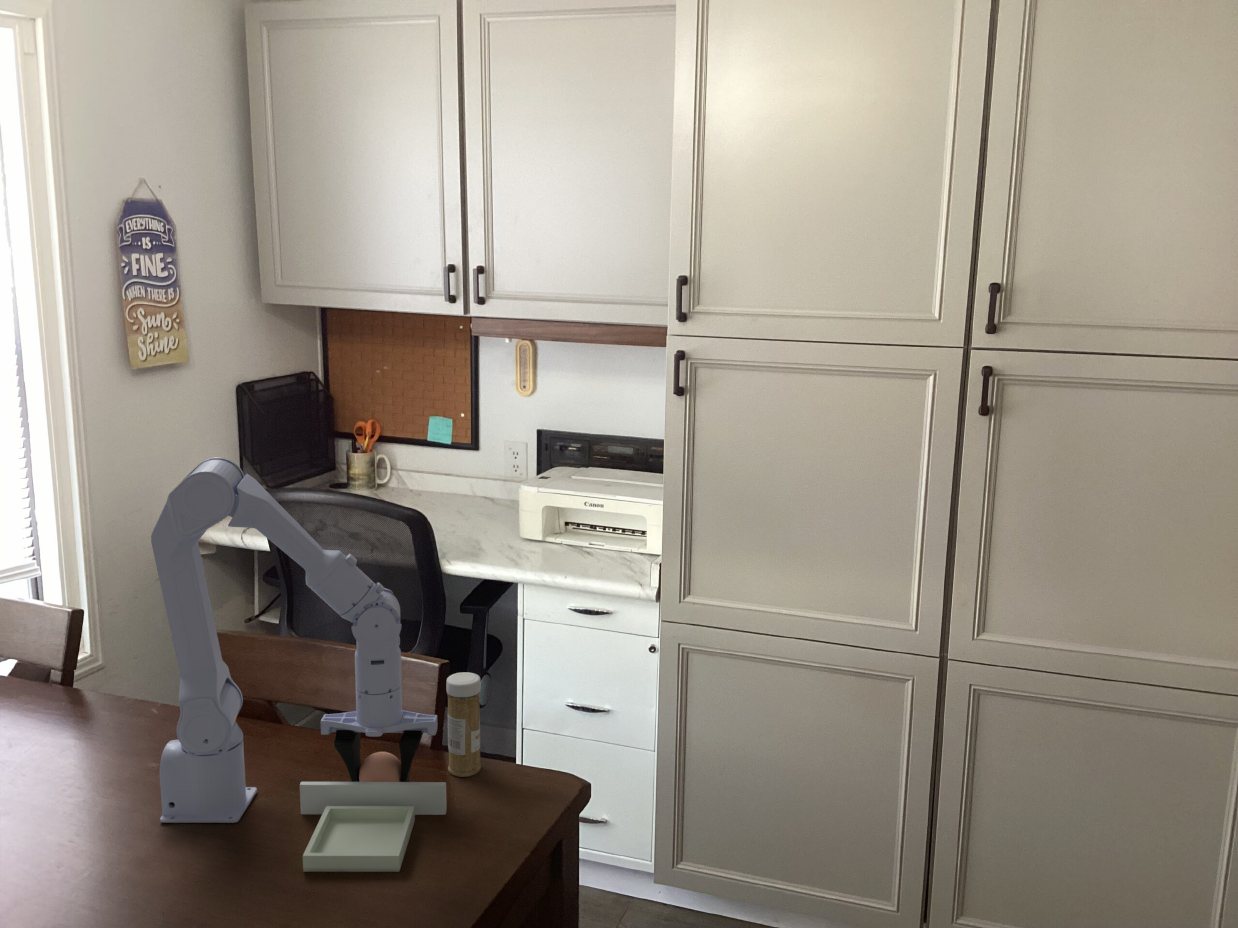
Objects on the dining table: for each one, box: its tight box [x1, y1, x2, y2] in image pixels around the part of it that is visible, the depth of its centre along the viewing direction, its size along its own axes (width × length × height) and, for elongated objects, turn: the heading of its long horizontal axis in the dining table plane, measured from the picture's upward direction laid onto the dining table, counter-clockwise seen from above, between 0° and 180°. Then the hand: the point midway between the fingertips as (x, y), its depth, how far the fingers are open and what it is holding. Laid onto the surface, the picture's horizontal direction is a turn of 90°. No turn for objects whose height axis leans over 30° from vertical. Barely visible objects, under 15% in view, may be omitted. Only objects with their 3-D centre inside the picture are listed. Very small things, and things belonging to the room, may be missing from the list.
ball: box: [359, 751, 401, 782], centre depth 133 cm, size 6×6×6 cm
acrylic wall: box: [299, 781, 447, 816], centre depth 128 cm, size 18×1×4 cm, turn 92°
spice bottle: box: [445, 671, 482, 778], centre depth 139 cm, size 5×5×14 cm
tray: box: [302, 806, 416, 873], centre depth 121 cm, size 11×11×2 cm
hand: (381, 783), depth 133 cm, fingers closed on ball, 6 cm apart
